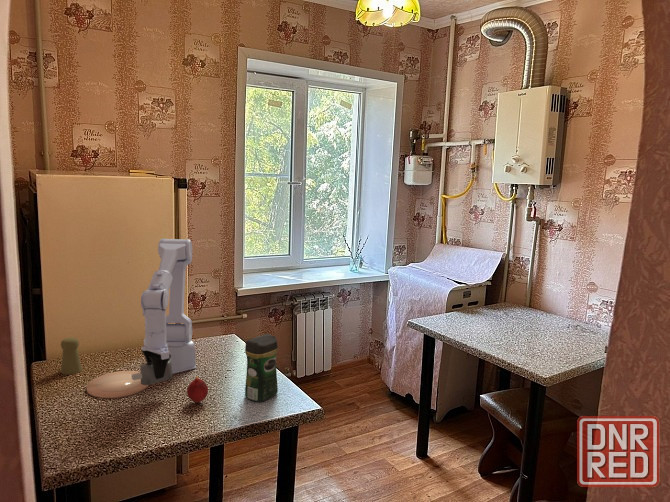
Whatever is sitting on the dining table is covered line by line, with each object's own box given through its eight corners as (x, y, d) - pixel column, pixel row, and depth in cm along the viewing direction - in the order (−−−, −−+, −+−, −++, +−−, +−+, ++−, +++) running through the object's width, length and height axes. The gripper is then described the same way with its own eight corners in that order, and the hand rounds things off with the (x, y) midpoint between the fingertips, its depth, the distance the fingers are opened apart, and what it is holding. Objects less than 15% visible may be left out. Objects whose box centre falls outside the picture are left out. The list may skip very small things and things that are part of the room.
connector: (169, 373, 144) (168, 358, 144) (174, 378, 142) (174, 362, 141) (130, 383, 137) (129, 366, 136) (135, 388, 134) (134, 371, 133)
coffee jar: (263, 386, 151) (264, 329, 148) (281, 394, 146) (282, 335, 143) (239, 397, 143) (240, 337, 140) (258, 405, 138) (259, 344, 135)
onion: (212, 400, 140) (211, 374, 139) (200, 409, 135) (200, 382, 134) (195, 396, 142) (194, 371, 141) (183, 405, 137) (182, 378, 136)
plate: (139, 368, 161) (138, 366, 161) (159, 387, 147) (159, 384, 147) (79, 382, 149) (79, 379, 149) (96, 404, 136) (96, 401, 135)
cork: (72, 375, 154) (70, 342, 152) (56, 373, 155) (54, 340, 153) (85, 368, 159) (84, 336, 158) (70, 366, 161) (68, 334, 159)
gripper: (132, 326, 140) (134, 370, 143) (150, 340, 130) (152, 387, 132) (156, 322, 145) (157, 364, 147) (176, 335, 134) (176, 381, 136)
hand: (156, 375), depth 140 cm, fingers closed on connector, 4 cm apart
